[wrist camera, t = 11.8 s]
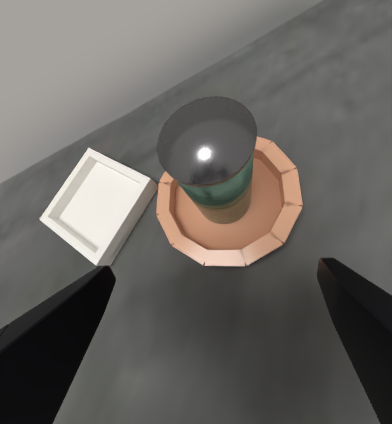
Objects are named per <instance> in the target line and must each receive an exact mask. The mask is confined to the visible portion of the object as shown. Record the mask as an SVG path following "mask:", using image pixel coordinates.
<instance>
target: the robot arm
mask: <svg viewBox="0 0 392 424" xmlns="http://www.w3.org/2000/svg"><path fill="white" fill-rule="evenodd" d="M317 278H318V282H319V285H320V287H321V290H322V293H323V296H324V299H325V302H326V305H327V308H328V310H329V313H330V316H331V319H332V321H333V324H334V326H335V328H336V331H337V333H338V335H339V337H340V339H341V341H342V343H343V345H344V347H345V350H346V352H347V354H348V356H349V358H350V360H351V362H352V364H353V366H354V369H355V371H356V373H357V375H358V377H359V379H360V381H361V383H362V385H363V388H364V390H365V392H366V394H367V396H368V398H369V400H370V402H371V404H372V407H373V409H374V411H375V413H376V415H377V417H378V419H379V421H380V423H381V424H392V295H390V294H389V293H387V292H385V291H384V290H382V289H381V288H379V287H378V286H376V285H375V284H373V283H372V282H370V281H368V280H367V279H365V278H364V277H362V276H361V275H359V274H358V273H356V272H354V271H353V270H351V269H350V268H348V267H347V266H345V265H344V264H342V263H341V262H339V261H337V260H336V259H334V258H320V260H319V264H318V271H317ZM115 281H116V278H115V276H114V274H113V272H112V270H111V268H110V266H108V265H101V266H98V267H96V268H95V269H93V270H92V271H90V272H89V273H87V274H86V275H84V276H82V277H81V278H79V279H78V280H76V281H75V282H73V283H72V284H70V285H68V286H67V287H65V288H64V289H62V290H61V291H59V292H58V293H56V294H54V295H53V296H51V297H50V298H48V299H47V300H45V301H44V302H42V303H40V304H39V305H37V306H36V307H34V308H33V309H31V310H29V311H28V312H26V313H25V314H23V315H22V316H20V317H19V318H17V319H15V320H14V321H12V322H11V323H10V324H8V325H6V326H4V327H3V328H1V329H0V424H53V422H54V419H55V417H56V415H57V413H58V411H59V409H60V407H61V404H62V402H63V400H64V398H65V396H66V394H67V392H68V390H69V387H70V385H71V383H72V381H73V379H74V377H75V375H76V372H77V370H78V368H79V366H80V364H81V362H82V360H83V357H84V355H85V353H86V351H87V349H88V347H89V345H90V342H91V340H92V338H93V336H94V334H95V332H96V330H97V327H98V325H99V323H100V321H101V319H102V317H103V314H104V312H105V309H106V307H107V304H108V301H109V298H110V296H111V293H112V290H113V287H114V285H115Z"/></svg>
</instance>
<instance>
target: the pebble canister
mask: <svg viewBox="0 0 392 424" xmlns="http://www.w3.org/2000/svg"><path fill="white" fill-rule="evenodd" d="M256 140H257V127H256V123H255V120H254V118H253V116H252V114H251V113H250V111H249V110H248V109H247V108H246V107H245V106H244V105H242V104H241V103H239V102H238V101H235V100H233V99H230V98H226V97H217V96H215V97H205V98H201V99H197V100H195V101H192V102H190V103H188V104H186V105H184V106H183V107H181V108H180V109H178V110H177V111H176V112H175V113H174V114H173V115H172V116H171V117H170V118H169V119H168V120H167V122H166V123H165V124H164V126H163V128H162V130H161V132H160V135H159V138H158V143H157V152H158V157H159V161H160V163H161V165H162V167H163V168H164V169H165V171H166V172H167V173H168V174H169V175H170V176H171V177H172V178H173V179H175V181H176V182H177V183H178V184H179V185H180V187H181V188H182V189H183V190H184V192H185V193H186V194H187V195H188V197H189V198H190V199H191V200H192V202H193V203H194V204H195V205H196V206H197V208H198V209H199V210H200V211H201V213H202V214H203V215H204V216H205V217H206V218H207V219H208V220H210V221H211V222H214V223H217V224H230V223H233V222H236V221H238V220H239V219H241V218H242V217H243V216H244V215H245V214H246V212H247V211H248V209H249V207H250V203H251V190H252V175H253V159H254V150H255V146H256Z"/></svg>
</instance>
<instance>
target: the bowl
mask: <svg viewBox="0 0 392 424" xmlns="http://www.w3.org/2000/svg"><path fill="white" fill-rule="evenodd" d="M159 182H160V183H159V185H158V198H157V212H156V214H158V215H157V217H158V219H159V221H160V223H161V225H162V227H163V229H164V231H165V233H166V235H167V238H168V240H169V242H170V244H171V245H173V247H175V248H176V249H178V250H179V251H181V252H183V253H184V254H186V255H187V256H189V257H191V258H192V259H194V260H195V261H197V262H199V263H200V264H202V265H205V266H245V264H246V265H247V266H248V265H249V264H251V263H253V262H254V261H256V260H258V259H259V258H261V257H263V256H265V255H266V254H268V253H270V252H271V251H273V250H275V249H276V248H278V247H280V246H281V245H283V244H284V243H285V241H286V239H287V237H288V235H289V233H290V231H291V229H292V227H293V225H294V223H295V221H296V219H297V217H298V215H299V213H300V211H301V209H302V207H301V206H302V205H303V204H302V197H301V190H300V184H299V177H298V171H297V169H296V166H295V165H294V164H293V163H292V162H291V161H290V160H289V159H288V158H287V157H286V155H285V154H284V153H283V152H282V151H281V150H280V149H279V148H278V147H277V146H276V145H275V144H274V143H273V142H272V143H271V141H270V140H267V139H264V138H260V137H257V140H256V146H255V150H254V159H253V175H252V190H251V203H250V207H249V209H248V211H247V212H246V214H245V215H244V216H243V217H242V218H241V219H239V220H238V221H236V222H233V223H230V224H217V223H214V222H211V221H210V220H208V219H207V218H206V217H205V216H204V215H203V214H202V213H201V211H200V210H199V209H198V208H197V206H196V205H195V204H194V203H193V202H192V200H191V199H190V198H189V197H188V195H187V194H186V193H185V192H184V190H183V189H182V188H181V187H180V185H179V184H178V183H177V182H176V181H175V179H173V178H172V177H171V176H170V175H169V174H168V173H167V172H166V171H165V173H164V174H163V176H162V178H161V179H160V181H159Z"/></svg>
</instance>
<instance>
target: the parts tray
mask: <svg viewBox="0 0 392 424" xmlns="http://www.w3.org/2000/svg"><path fill="white" fill-rule="evenodd" d="M157 189H158V185H157V184H156V183H155V182H154V181H153V180H152V179H151V178H149V177H146V176H144V175H142V174H140V173H138V172H136V171H134V170H132V169H130V168H128V167H126V166H124V165H122V164H120V163H118V162H116V161H114V160H112V159H110V158H108V157H106V156H104V155H102V154H100V153H98V152H96V151H94V150H92V149H90V148H88V150H87V151H86V153H85V154H84V156H83V157H82V159H81V160H80V161H79V163H78V164H77V166H76V167H75V169H74V170H73V172H72V173H71V174H70V176H69V177H68V179H67V180H66V182H65V183H64V185H63V186H62V187H61V189H60V190H59V192H58V193H57V195H56V196H55V198H54V199H53V200H52V202H51V203H50V205H49V206H48V208H47V209H46V211H45V212H44V213H43V215H42V216H41V218H40V220H41V221H42V222H43V223H45V224H46V225H47V226H48V227H49V228H51V229H52V230H53V231H54V232H56V233H57V234H58V235H59V236H60V237H62V238H63V239H64V240H65V241H67V242H68V243H69V244H70V245H71V246H73V247H74V248H75V249H76V250H78V251H79V252H80V253H81V254H82V255H84V256H85V257H86V258H87V259H89V260H90V261H91V262H92V263H93V264H95V265H96V266H101V265H108V266H111V264H112V262H113V261H114V259H115V257H116V256H117V254H118V253H119V251H120V249H121V248H122V246H123V244H124V243H125V241H126V240H127V238H128V236H129V235H130V233H131V232H132V230H133V228H134V227H135V225H136V223H137V222H138V220H139V219H140V217H141V215H142V214H143V212H144V210H145V209H146V207H147V206H148V204H149V202H150V201H151V199H152V197H153V196H154V194H155V193H156V191H157Z"/></svg>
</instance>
